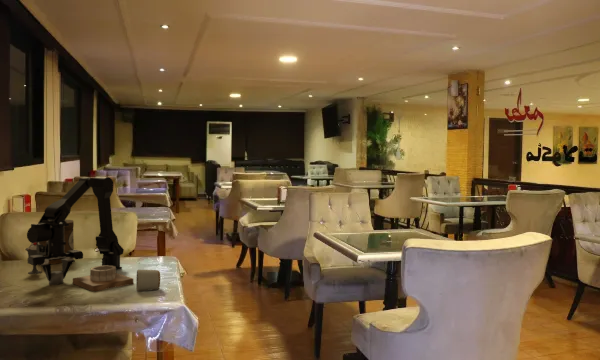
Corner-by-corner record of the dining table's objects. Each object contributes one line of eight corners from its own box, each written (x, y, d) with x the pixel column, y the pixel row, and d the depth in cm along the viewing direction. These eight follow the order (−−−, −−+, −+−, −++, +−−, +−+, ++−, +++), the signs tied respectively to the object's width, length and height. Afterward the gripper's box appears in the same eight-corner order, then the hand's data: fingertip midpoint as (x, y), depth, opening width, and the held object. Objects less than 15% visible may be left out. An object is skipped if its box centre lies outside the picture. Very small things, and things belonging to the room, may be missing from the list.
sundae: (36, 275, 210) (36, 238, 209) (21, 274, 211) (21, 237, 210) (47, 271, 216) (47, 235, 215) (33, 270, 217) (33, 234, 217)
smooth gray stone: (59, 280, 202) (59, 270, 202) (65, 283, 199) (65, 272, 198) (46, 283, 198) (46, 272, 198) (52, 285, 195) (52, 274, 195)
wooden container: (79, 261, 237) (79, 213, 236) (46, 266, 226) (45, 215, 225) (64, 256, 247) (64, 210, 246) (32, 260, 236) (31, 212, 235)
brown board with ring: (111, 276, 210) (111, 261, 210) (133, 283, 200) (133, 268, 199) (72, 283, 198) (72, 267, 198) (93, 291, 188) (93, 275, 187)
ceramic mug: (160, 291, 189) (161, 270, 189) (137, 293, 186) (137, 272, 186) (157, 285, 199) (157, 265, 199) (135, 286, 196) (135, 266, 196)
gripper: (70, 233, 210) (70, 272, 211) (21, 239, 196) (21, 280, 197) (83, 237, 202) (83, 277, 203) (33, 243, 188) (34, 285, 189)
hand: (56, 279), depth 198 cm, fingers closed on smooth gray stone, 5 cm apart
